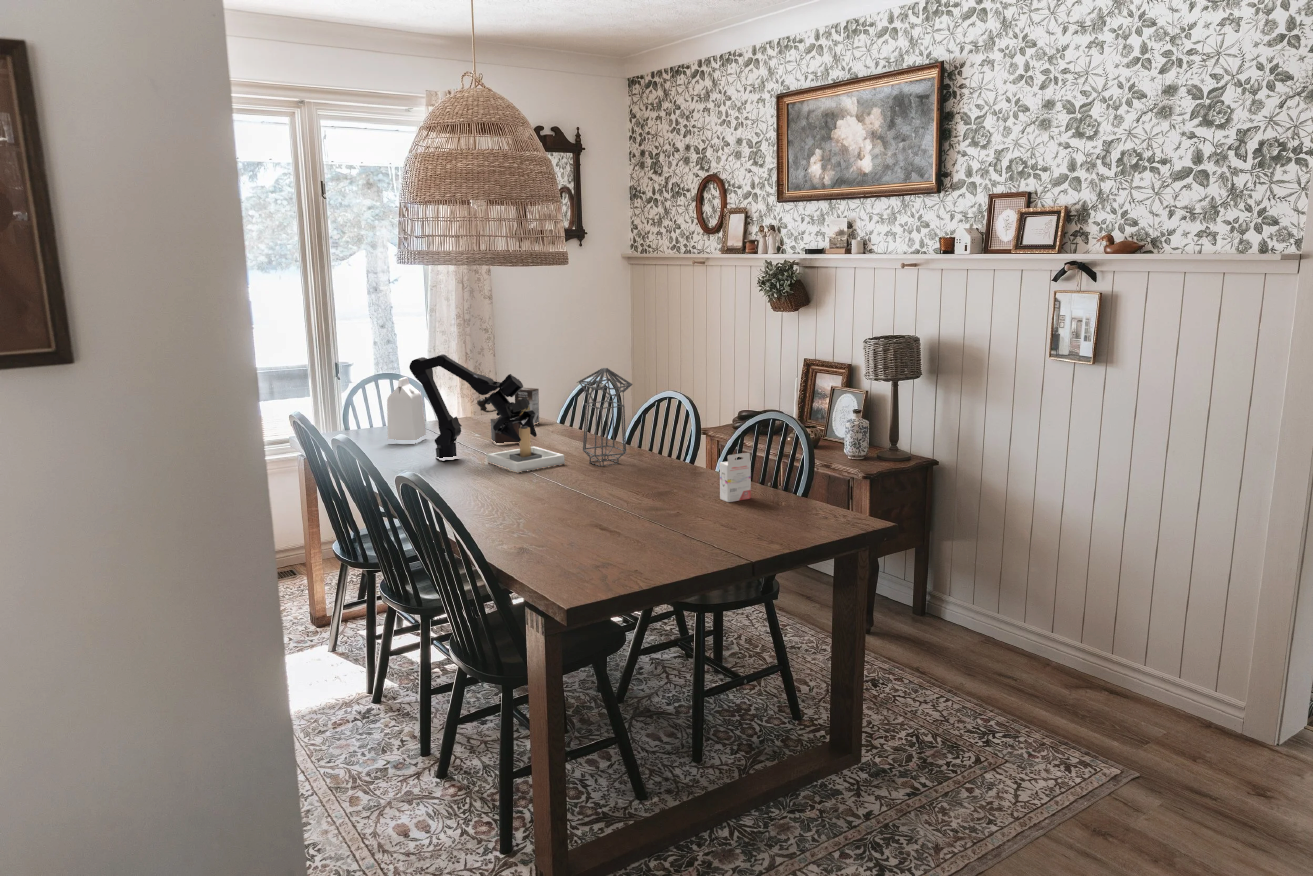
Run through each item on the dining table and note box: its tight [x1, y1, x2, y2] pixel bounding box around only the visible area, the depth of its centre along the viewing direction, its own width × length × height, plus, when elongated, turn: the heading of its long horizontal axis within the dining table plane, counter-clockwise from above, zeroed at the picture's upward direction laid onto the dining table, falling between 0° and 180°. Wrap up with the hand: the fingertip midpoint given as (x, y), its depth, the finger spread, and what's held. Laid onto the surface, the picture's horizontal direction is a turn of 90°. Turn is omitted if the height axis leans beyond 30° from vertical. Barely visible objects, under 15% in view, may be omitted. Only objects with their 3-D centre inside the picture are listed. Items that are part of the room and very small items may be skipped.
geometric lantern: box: [576, 367, 633, 467], centre depth 325 cm, size 16×16×35 cm
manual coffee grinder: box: [476, 398, 522, 443], centre depth 364 cm, size 16×11×18 cm
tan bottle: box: [519, 425, 532, 457], centre depth 328 cm, size 4×4×13 cm
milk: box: [386, 376, 427, 440], centre depth 368 cm, size 12×12×26 cm
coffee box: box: [514, 387, 540, 424], centre depth 404 cm, size 9×6×16 cm
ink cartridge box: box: [719, 452, 752, 503], centre depth 279 cm, size 9×5×15 cm, turn 117°
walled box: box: [487, 446, 566, 472], centre depth 329 cm, size 20×20×4 cm
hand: (528, 438), depth 327 cm, fingers open, 9 cm apart
